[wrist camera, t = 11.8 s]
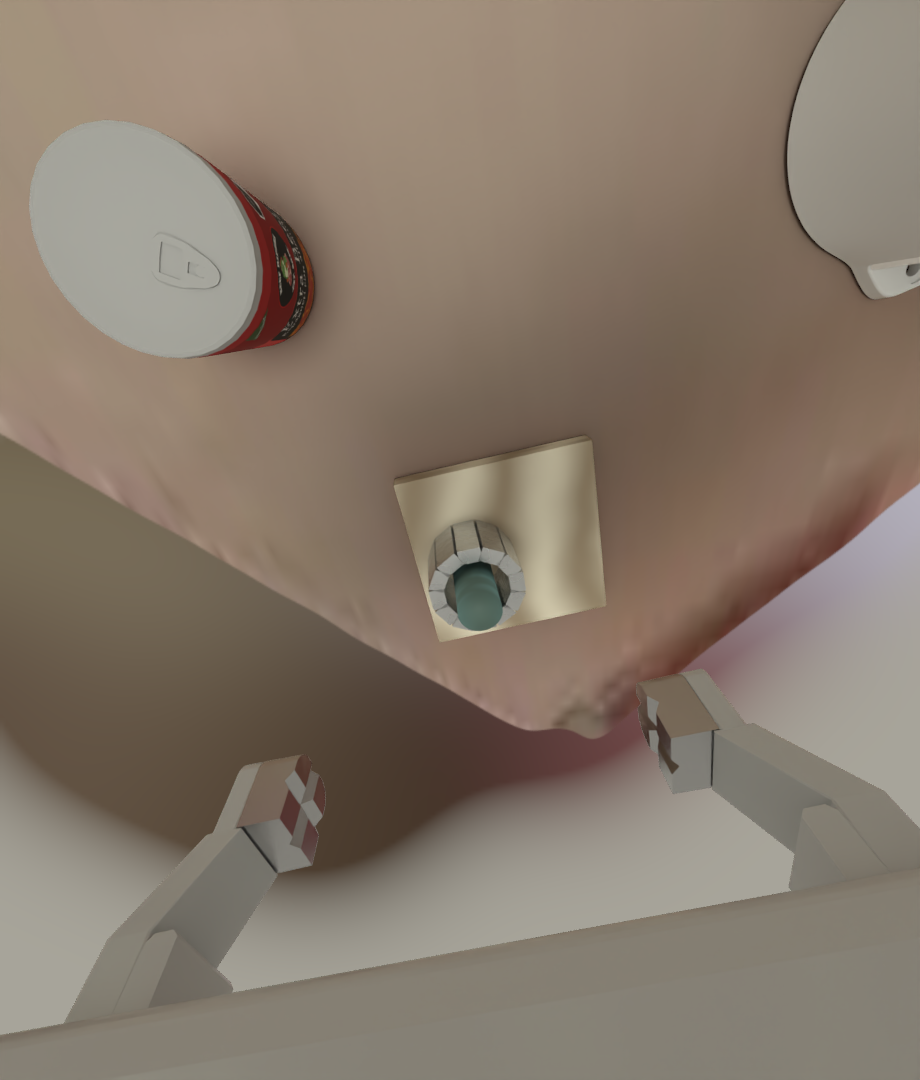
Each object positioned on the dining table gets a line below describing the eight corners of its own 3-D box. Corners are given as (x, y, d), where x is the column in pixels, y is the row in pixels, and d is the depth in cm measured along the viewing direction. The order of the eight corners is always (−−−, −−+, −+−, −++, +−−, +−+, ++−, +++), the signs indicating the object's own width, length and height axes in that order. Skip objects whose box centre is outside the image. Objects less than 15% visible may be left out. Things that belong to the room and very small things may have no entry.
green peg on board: (585, 434, 32) (634, 469, 25) (599, 596, 39) (643, 663, 31) (394, 478, 33) (385, 526, 25) (439, 631, 39) (442, 706, 31)
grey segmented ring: (505, 512, 33) (517, 538, 29) (518, 585, 36) (531, 619, 32) (420, 531, 33) (419, 560, 29) (439, 603, 36) (441, 638, 32)
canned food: (322, 350, 29) (268, 365, 19) (190, 342, 28) (63, 354, 18) (312, 203, 26) (242, 129, 16) (162, 190, 25) (-10, 104, 15)
